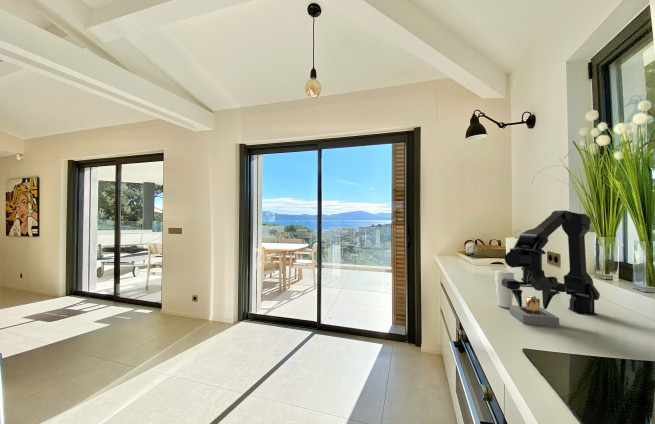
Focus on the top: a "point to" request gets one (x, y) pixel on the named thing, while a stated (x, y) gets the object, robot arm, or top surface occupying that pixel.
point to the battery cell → (532, 305)
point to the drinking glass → (503, 288)
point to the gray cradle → (534, 316)
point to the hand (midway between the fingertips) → (532, 308)
